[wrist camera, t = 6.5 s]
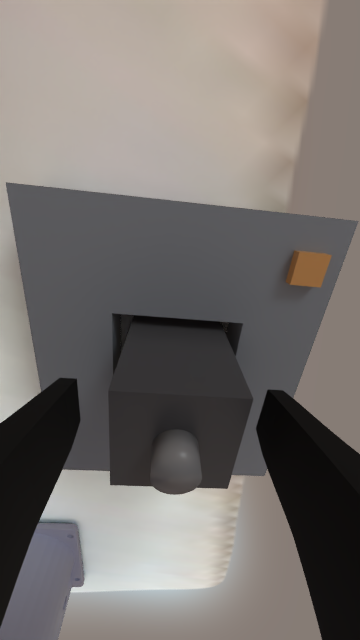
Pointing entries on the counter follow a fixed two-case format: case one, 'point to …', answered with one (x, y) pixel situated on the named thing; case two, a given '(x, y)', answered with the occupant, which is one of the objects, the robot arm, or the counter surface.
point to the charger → (176, 406)
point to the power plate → (169, 291)
